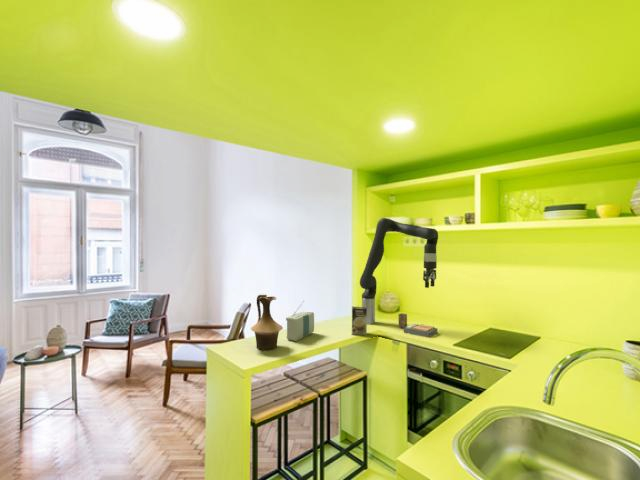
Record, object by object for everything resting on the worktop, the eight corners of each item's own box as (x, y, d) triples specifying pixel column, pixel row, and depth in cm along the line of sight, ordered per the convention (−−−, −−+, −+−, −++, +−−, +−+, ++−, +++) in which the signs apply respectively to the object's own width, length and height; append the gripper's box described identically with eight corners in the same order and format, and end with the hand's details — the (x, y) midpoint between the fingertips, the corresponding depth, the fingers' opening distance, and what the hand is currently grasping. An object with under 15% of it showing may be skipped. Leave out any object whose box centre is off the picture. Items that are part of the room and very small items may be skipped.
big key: (412, 330, 197) (412, 327, 197) (420, 327, 205) (420, 324, 205) (426, 333, 191) (426, 330, 191) (434, 330, 199) (434, 326, 199)
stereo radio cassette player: (297, 342, 179) (297, 306, 180) (284, 340, 183) (284, 305, 184) (314, 333, 198) (314, 301, 198) (303, 331, 202) (303, 300, 202)
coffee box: (351, 334, 194) (351, 308, 195) (351, 332, 201) (351, 306, 201) (366, 335, 193) (366, 308, 194) (366, 332, 200) (366, 306, 200)
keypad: (403, 332, 200) (403, 326, 200) (413, 328, 209) (413, 322, 209) (428, 337, 189) (428, 331, 189) (437, 333, 198) (437, 326, 198)
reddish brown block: (398, 327, 211) (398, 314, 211) (401, 326, 214) (401, 313, 214) (404, 329, 208) (404, 315, 208) (407, 327, 211) (407, 314, 211)
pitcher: (243, 347, 170) (243, 294, 170) (267, 340, 183) (267, 291, 183) (265, 354, 159) (265, 298, 159) (289, 346, 172) (289, 294, 172)
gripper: (428, 260, 205) (428, 285, 204) (419, 260, 194) (419, 287, 194) (440, 260, 200) (440, 286, 200) (431, 261, 189) (431, 288, 189)
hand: (429, 287), depth 197 cm, fingers open, 8 cm apart
